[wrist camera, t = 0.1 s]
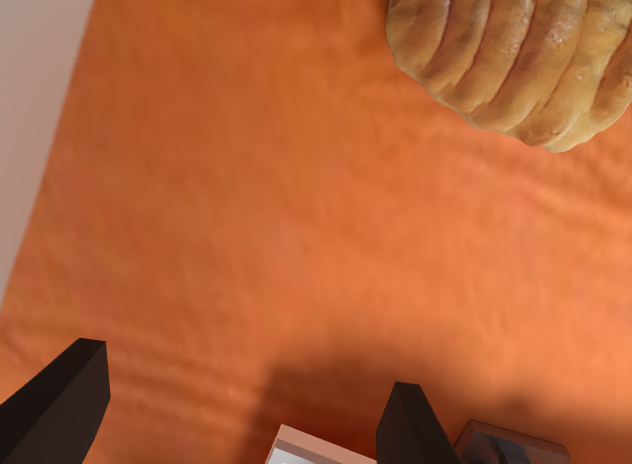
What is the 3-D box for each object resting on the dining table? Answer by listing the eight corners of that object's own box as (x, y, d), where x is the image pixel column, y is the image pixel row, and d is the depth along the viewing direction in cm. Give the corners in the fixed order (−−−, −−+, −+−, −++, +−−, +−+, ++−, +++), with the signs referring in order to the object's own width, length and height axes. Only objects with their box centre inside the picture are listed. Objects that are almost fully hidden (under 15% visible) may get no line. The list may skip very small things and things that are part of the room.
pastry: (358, 91, 19) (369, 100, 16) (415, -92, 17) (443, -131, 13) (559, 153, 20) (612, 174, 17) (640, -12, 18) (721, -28, 14)
